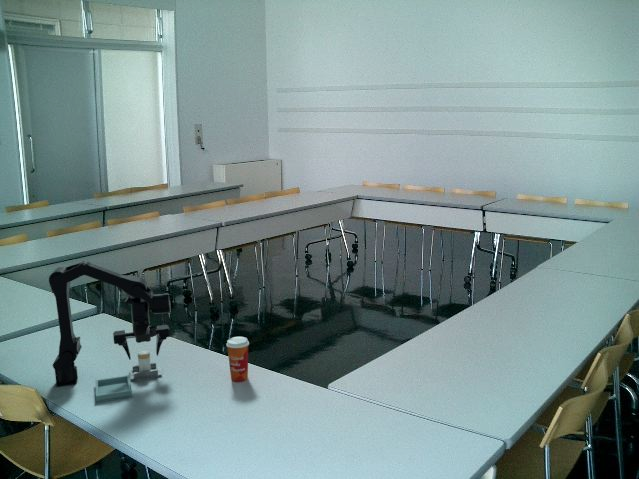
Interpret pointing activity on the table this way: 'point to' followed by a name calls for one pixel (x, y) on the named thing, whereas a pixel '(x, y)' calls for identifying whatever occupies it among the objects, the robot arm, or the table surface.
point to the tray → (113, 388)
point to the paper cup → (238, 358)
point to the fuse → (144, 361)
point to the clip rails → (145, 372)
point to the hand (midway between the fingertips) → (143, 357)
